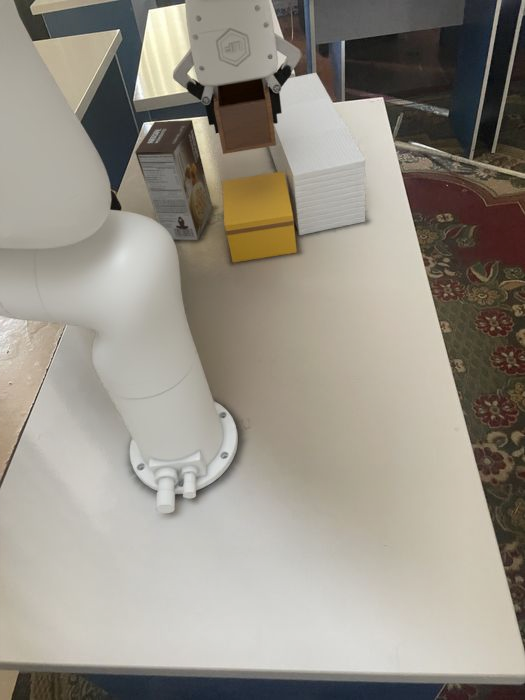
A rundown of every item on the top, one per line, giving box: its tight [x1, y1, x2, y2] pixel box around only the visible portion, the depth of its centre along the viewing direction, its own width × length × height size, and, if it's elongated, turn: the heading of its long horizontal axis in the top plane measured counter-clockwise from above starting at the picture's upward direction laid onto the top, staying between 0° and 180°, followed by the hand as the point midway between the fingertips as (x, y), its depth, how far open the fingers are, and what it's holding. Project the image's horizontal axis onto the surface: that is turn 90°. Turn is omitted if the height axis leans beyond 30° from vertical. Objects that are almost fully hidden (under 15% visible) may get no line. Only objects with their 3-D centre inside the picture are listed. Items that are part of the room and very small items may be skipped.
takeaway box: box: [221, 171, 298, 263], centre depth 89 cm, size 12×10×7 cm
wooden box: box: [213, 78, 276, 155], centre depth 75 cm, size 10×7×6 cm
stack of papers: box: [268, 72, 366, 236], centre depth 96 cm, size 32×11×11 cm, turn 9°
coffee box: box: [134, 119, 214, 241], centre depth 90 cm, size 9×6×16 cm
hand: (246, 122), depth 76 cm, fingers closed on wooden box, 7 cm apart
